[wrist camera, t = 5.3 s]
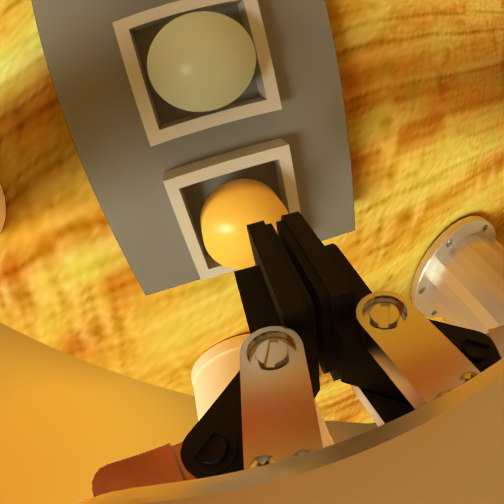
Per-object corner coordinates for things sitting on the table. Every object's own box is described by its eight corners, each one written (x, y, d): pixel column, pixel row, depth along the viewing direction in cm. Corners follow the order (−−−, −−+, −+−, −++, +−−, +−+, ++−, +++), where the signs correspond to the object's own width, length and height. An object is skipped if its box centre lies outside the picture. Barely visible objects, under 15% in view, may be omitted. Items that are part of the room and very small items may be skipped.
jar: (176, 360, 28) (196, 519, 16) (270, 317, 27) (333, 481, 15) (232, 407, 34) (262, 525, 22) (308, 375, 34) (357, 493, 22)
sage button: (236, 8, 11) (243, 1, 9) (256, 93, 13) (266, 96, 12) (139, 33, 11) (135, 29, 9) (165, 119, 13) (163, 125, 12)
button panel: (267, -112, 9) (289, -143, 5) (335, 210, 23) (365, 241, 19) (40, -53, 8) (11, -74, 5) (147, 268, 22) (144, 310, 18)
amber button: (273, 168, 15) (283, 179, 14) (287, 238, 18) (296, 254, 16) (189, 193, 15) (190, 207, 14) (213, 261, 18) (217, 279, 16)
